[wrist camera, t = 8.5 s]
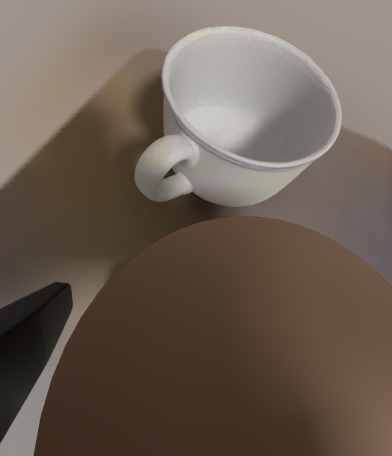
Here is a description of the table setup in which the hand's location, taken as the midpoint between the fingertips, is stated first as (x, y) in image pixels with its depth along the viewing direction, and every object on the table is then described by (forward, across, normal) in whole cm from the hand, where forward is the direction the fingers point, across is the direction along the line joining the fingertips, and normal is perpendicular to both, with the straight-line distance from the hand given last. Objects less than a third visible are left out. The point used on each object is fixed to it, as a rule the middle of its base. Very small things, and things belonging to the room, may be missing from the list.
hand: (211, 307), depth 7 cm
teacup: (+14, -1, -2) cm, 14 cm away
